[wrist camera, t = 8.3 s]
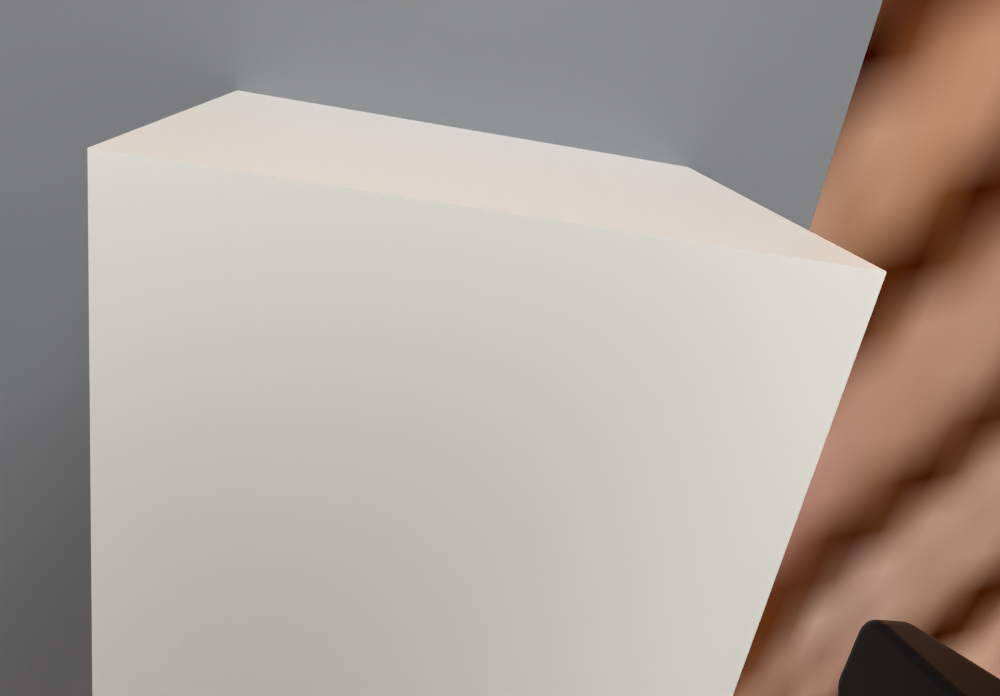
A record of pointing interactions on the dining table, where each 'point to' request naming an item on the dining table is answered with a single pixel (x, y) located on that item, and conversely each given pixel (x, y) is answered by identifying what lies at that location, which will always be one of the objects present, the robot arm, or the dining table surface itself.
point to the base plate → (362, 87)
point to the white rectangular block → (441, 409)
